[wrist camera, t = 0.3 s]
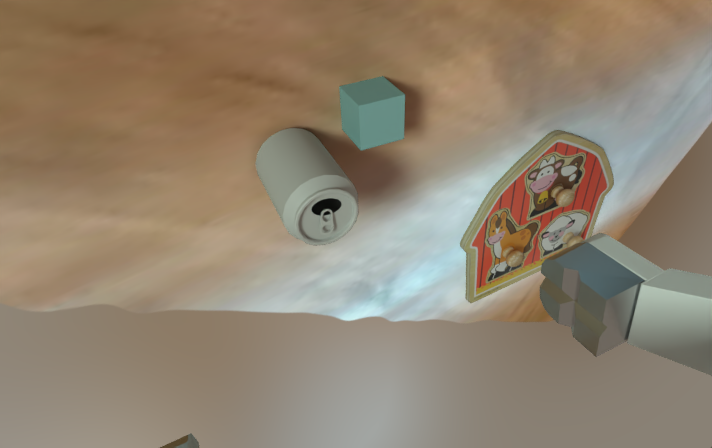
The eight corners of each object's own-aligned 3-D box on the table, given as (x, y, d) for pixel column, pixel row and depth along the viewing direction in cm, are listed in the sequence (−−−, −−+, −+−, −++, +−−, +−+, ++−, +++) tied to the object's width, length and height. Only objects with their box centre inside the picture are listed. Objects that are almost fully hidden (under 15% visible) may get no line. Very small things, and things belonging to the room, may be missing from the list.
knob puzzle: (457, 301, 85) (471, 320, 82) (459, 165, 65) (479, 182, 62) (590, 239, 91) (608, 254, 88) (629, 98, 71) (655, 110, 68)
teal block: (339, 86, 50) (358, 105, 46) (382, 75, 51) (405, 94, 48) (342, 129, 53) (360, 150, 50) (382, 118, 55) (403, 138, 51)
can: (322, 121, 51) (371, 179, 43) (317, 181, 56) (360, 244, 47) (253, 127, 49) (290, 190, 40) (253, 189, 53) (287, 259, 44)
